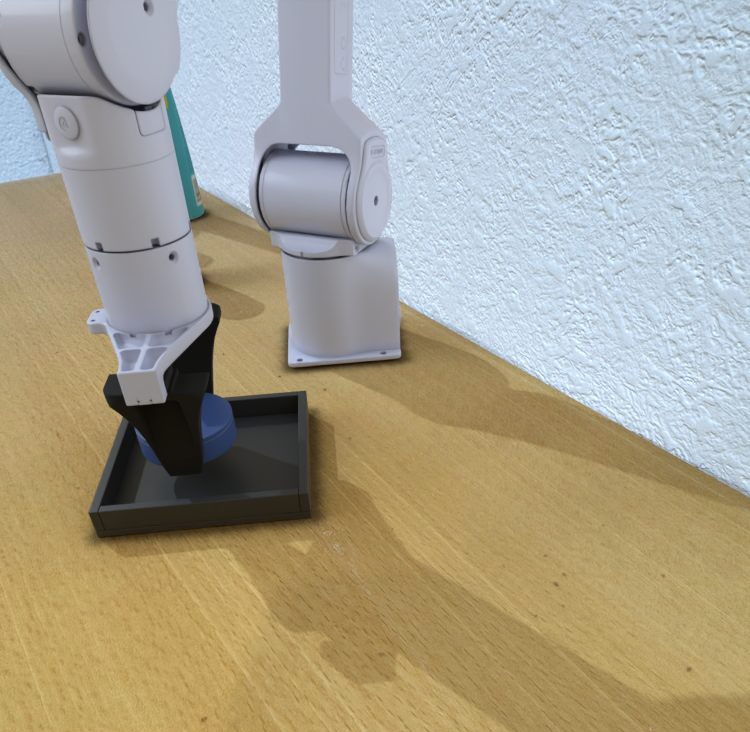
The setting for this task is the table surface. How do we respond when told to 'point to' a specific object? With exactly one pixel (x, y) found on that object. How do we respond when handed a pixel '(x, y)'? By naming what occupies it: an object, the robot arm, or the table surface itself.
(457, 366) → the table surface
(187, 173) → the tube
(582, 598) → the table surface
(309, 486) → the tray
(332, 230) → the robot arm
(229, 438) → the lid
